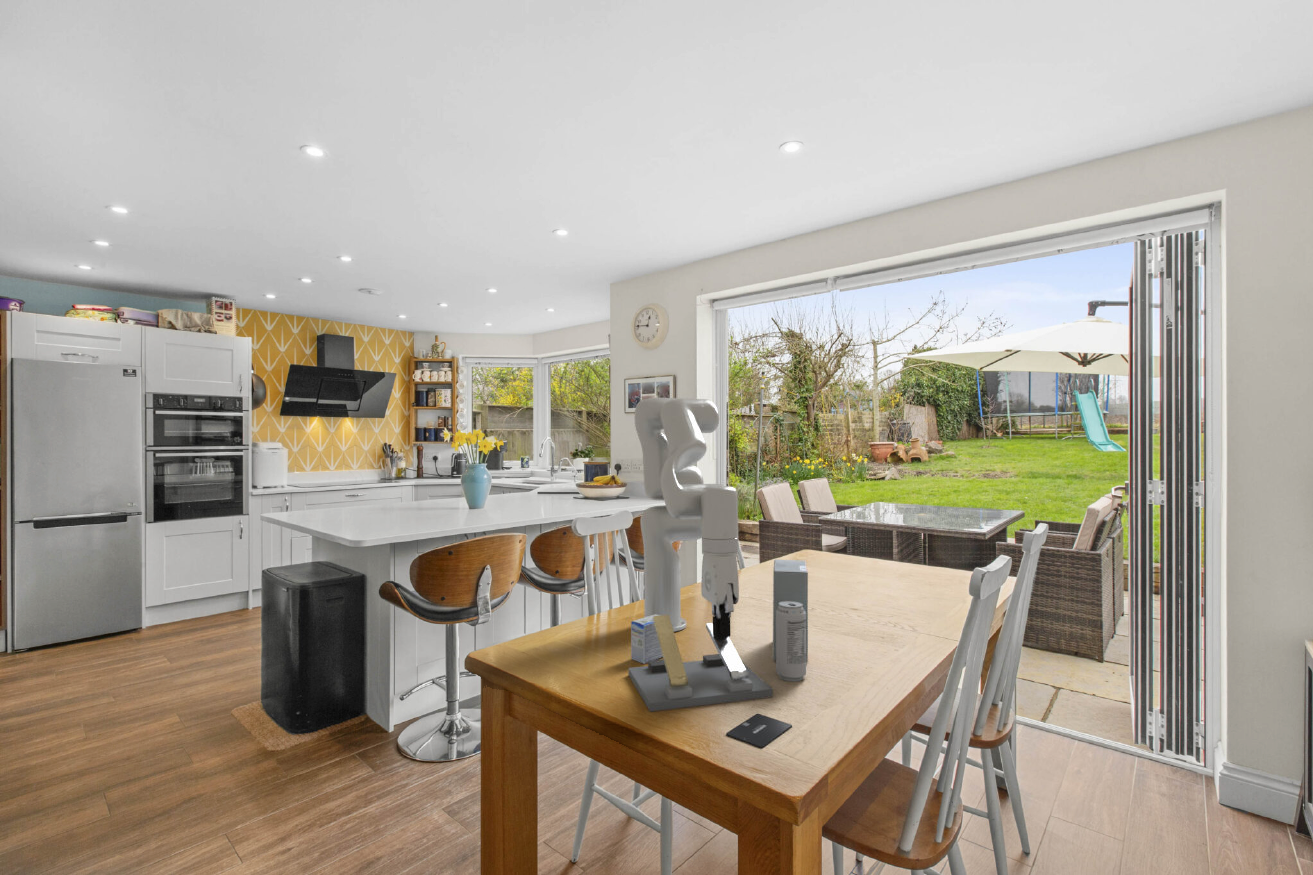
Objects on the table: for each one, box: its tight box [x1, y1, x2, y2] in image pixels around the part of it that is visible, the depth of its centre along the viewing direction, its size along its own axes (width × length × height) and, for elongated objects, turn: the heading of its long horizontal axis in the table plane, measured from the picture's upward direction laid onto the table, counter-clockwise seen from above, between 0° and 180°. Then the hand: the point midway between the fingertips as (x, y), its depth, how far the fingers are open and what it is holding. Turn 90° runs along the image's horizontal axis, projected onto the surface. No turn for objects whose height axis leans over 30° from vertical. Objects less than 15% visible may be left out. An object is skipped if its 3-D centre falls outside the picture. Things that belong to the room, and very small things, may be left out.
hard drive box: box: [772, 559, 809, 664], centre depth 141 cm, size 16×8×20 cm, turn 168°
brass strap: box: [653, 615, 688, 687], centre depth 119 cm, size 16×3×2 cm
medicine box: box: [630, 614, 663, 665], centre depth 138 cm, size 8×4×9 cm, turn 135°
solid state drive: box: [725, 713, 793, 749], centre depth 103 cm, size 7×10×1 cm
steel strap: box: [705, 622, 749, 680], centre depth 123 cm, size 16×3×2 cm, turn 15°
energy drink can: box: [775, 601, 807, 683], centre depth 126 cm, size 6×6×15 cm
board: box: [628, 653, 774, 713], centre depth 122 cm, size 18×24×3 cm
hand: (721, 636), depth 125 cm, fingers closed
